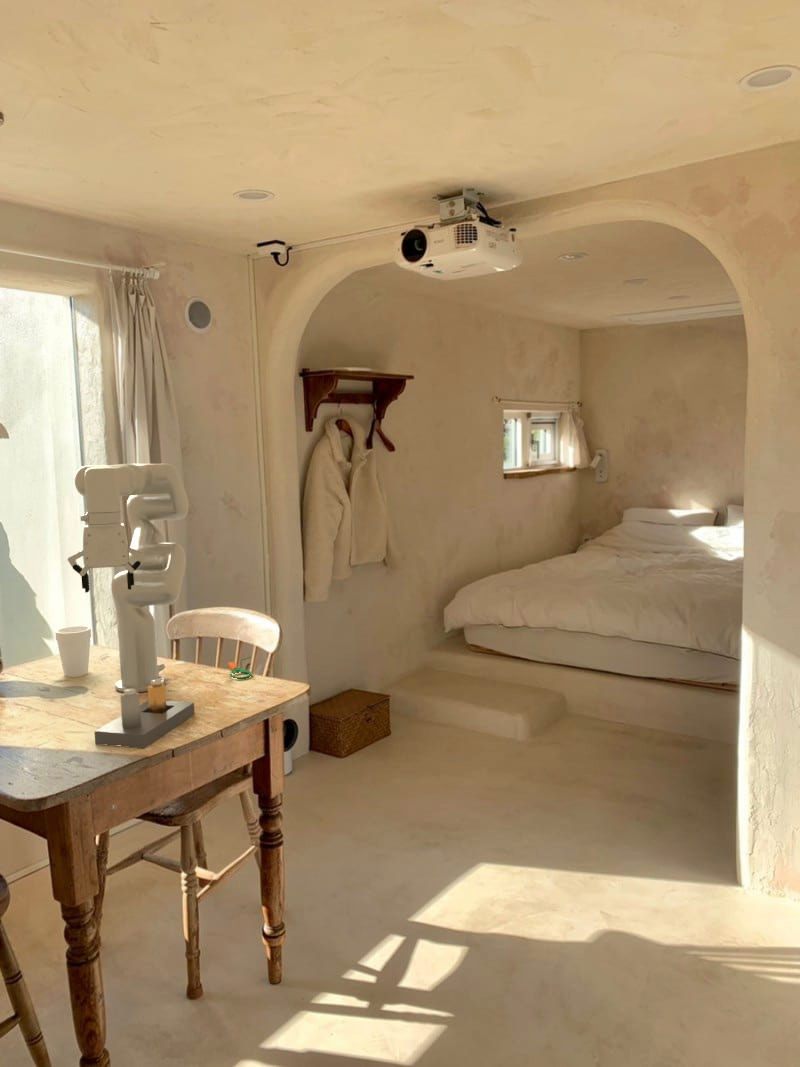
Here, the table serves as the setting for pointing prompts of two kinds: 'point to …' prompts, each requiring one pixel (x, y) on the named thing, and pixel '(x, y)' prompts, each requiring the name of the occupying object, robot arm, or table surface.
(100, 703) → the table surface
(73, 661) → the foam cup
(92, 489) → the robot arm
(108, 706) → the table surface
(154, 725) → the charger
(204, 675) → the table surface
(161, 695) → the amber bottle
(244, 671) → the magnifying glass
